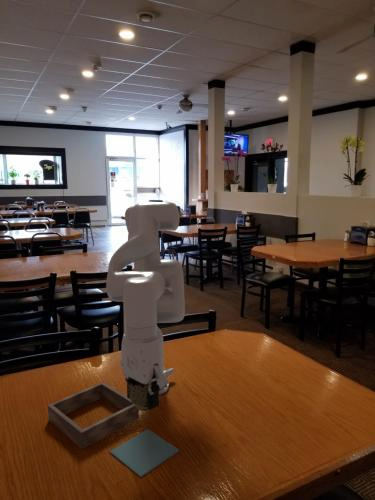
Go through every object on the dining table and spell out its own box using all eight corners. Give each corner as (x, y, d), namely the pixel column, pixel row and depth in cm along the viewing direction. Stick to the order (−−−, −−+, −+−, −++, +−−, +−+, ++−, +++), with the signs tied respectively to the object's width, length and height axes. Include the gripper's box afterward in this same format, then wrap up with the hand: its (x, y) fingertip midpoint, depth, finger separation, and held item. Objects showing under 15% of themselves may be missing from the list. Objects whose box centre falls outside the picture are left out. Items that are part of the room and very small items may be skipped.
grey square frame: (103, 395, 120) (102, 381, 120) (139, 418, 108) (138, 403, 107) (48, 420, 108) (47, 405, 107) (82, 449, 95) (81, 432, 94)
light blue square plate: (147, 430, 102) (147, 429, 102) (179, 451, 94) (179, 449, 94) (109, 452, 94) (109, 451, 94) (141, 477, 86) (140, 475, 85)
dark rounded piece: (153, 418, 88) (152, 385, 86) (122, 415, 89) (121, 383, 88) (161, 401, 95) (161, 370, 94) (133, 398, 96) (132, 368, 95)
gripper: (105, 326, 92) (108, 395, 95) (152, 345, 80) (155, 423, 83) (130, 318, 98) (133, 384, 100) (178, 335, 86) (179, 409, 88)
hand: (142, 401), depth 92 cm, fingers closed on dark rounded piece, 6 cm apart
